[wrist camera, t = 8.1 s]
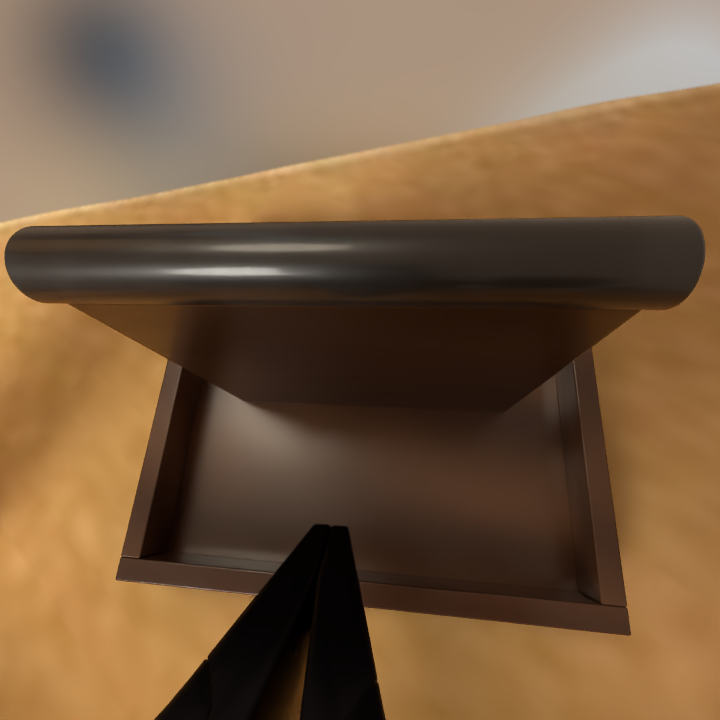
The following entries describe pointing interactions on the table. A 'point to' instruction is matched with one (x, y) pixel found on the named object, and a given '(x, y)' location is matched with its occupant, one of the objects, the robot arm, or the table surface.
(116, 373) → the table surface
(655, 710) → the table surface
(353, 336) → the tray
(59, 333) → the table surface
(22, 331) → the table surface
